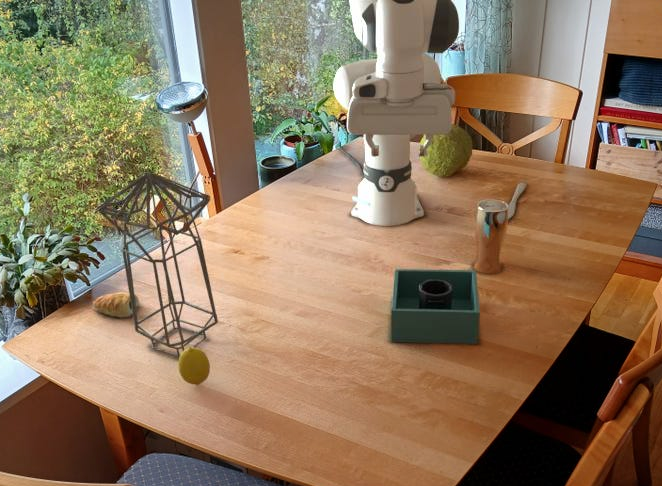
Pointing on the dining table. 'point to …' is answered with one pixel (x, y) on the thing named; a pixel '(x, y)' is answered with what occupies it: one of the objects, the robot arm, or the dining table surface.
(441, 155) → the fruit
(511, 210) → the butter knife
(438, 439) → the dining table surface
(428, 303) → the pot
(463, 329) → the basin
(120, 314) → the pastry
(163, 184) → the geometric lantern
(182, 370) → the lemon
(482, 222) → the beer glass
